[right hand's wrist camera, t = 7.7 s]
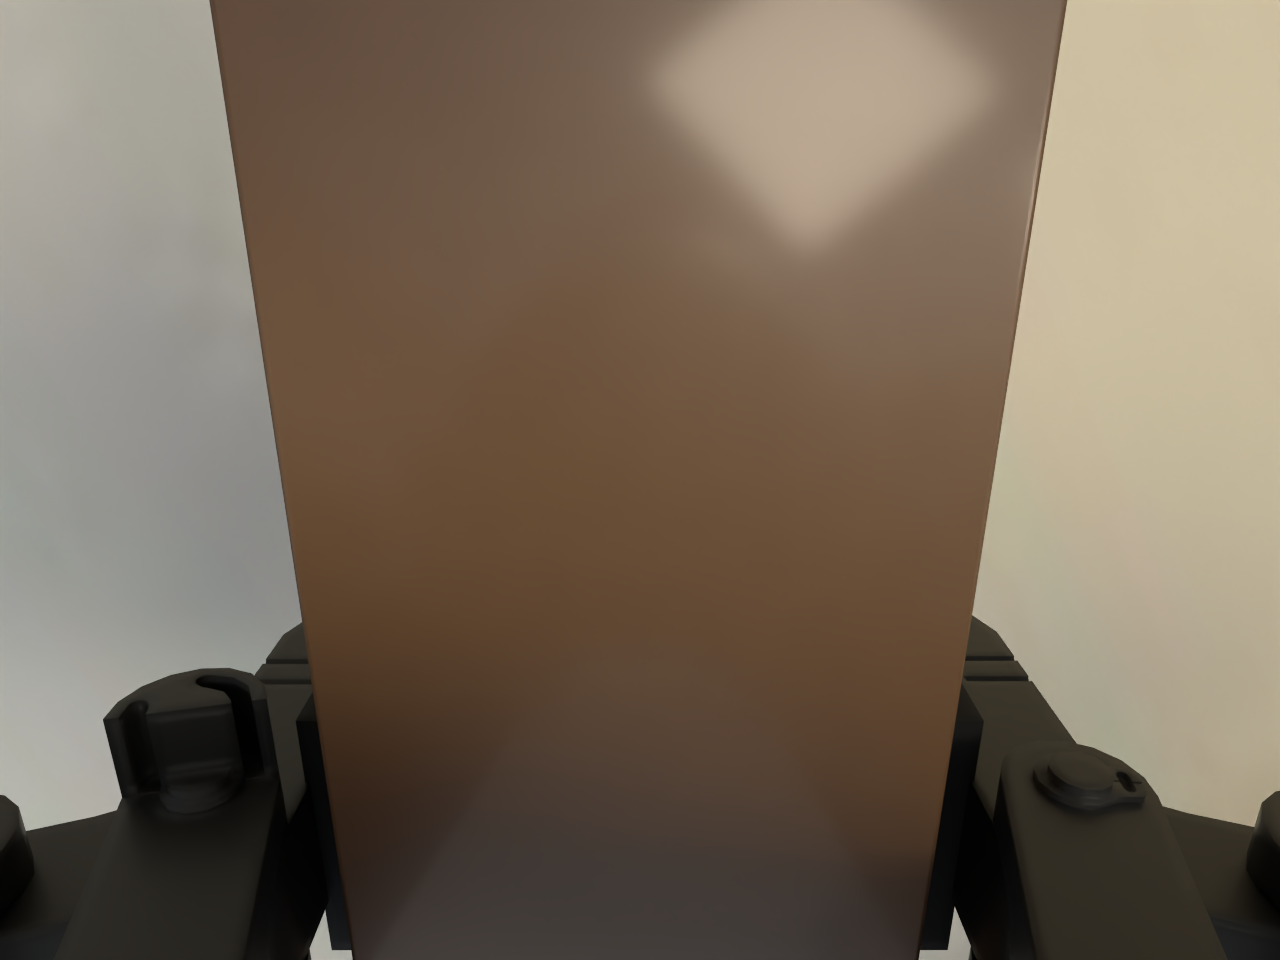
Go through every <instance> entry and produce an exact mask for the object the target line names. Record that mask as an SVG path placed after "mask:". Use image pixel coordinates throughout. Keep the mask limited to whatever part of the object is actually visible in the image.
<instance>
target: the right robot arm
mask: <svg viewBox="0 0 1280 960" xmlns="http://www.w3.org/2000/svg"><path fill="white" fill-rule="evenodd" d="M103 722H104V726H105V730H106V734H107V738H108V742H109V746H110V750H111V754H112V758H113V762H114V766H115V770H116V774H117V778H118V782H119V786H120V790H121V794H122V799H121V802H120V804H119V806H118V809H117V811H113V812H109V813H106V814H102V815H99V816H95V817H91V818H86V819H81V820H77V821H72V822H67V823H62V824H58V825H53V826H48V827H44V828H39V829H34V830H29V831H26V830H25V827H24V823H23V820H22V817H21V813H20V810H19V807H18V806H17V805H16V804H14V803H13V802H12V801H11V800H10V799H8V798H7V797H6V796H4V795H0V960H311V955H310V949H309V948H310V946H311V943H312V941H313V938H314V936H315V933H316V931H317V928H318V926H319V923H320V921H321V918H322V916H323V914H324V911H325V910H326V916H327V922H328V929H329V935H330V941H331V947H332V950H351V944H350V937H349V930H348V924H347V917H346V910H345V904H344V897H343V890H342V883H341V877H340V870H339V863H338V857H337V850H336V843H335V837H334V830H333V823H332V817H331V810H330V803H329V796H328V790H327V783H326V776H325V770H324V763H323V756H322V750H321V743H320V736H319V730H318V723H317V716H316V709H315V703H314V696H313V689H312V683H311V676H310V669H309V663H308V656H307V649H306V643H305V636H304V629H303V622H302V623H300V624H299V625H297V626H296V627H294V628H293V629H291V630H290V631H288V632H287V633H285V634H284V635H283V636H282V637H281V639H280V640H279V642H278V643H277V645H276V646H275V647H274V649H273V650H272V652H271V653H270V654H269V656H268V657H267V659H266V664H262V666H261V667H260V668H259V670H258V671H257V673H256V674H255V676H254V675H253V674H251V673H248V672H243V671H239V670H235V669H231V668H211V669H198V670H193V671H188V672H183V673H179V674H174V675H170V676H167V677H165V678H162V679H160V680H157V681H155V682H152V683H150V684H147V685H145V686H142V687H140V688H139V689H137V690H136V691H134V692H133V693H131V694H130V695H128V696H126V697H125V698H123V699H122V700H120V701H119V702H117V704H116V705H115V706H114V707H113V708H112V709H111V711H110V712H109V713H108V714H107V715H106V717H105V718H104V719H103ZM954 906H955V908H956V910H957V913H958V915H959V918H960V920H961V923H962V925H963V928H964V930H965V932H966V935H967V937H968V940H969V942H970V945H971V949H970V955H969V960H1280V791H1276V792H1274V793H1273V794H1272V795H1271V796H1270V797H1268V798H1267V799H1266V800H1265V801H1263V802H1262V804H1261V808H1260V811H1259V814H1258V818H1257V821H1256V824H1255V827H1250V826H1246V825H1241V824H1236V823H1231V822H1227V821H1222V820H1217V819H1212V818H1208V817H1203V816H1198V815H1193V814H1189V813H1185V812H1181V811H1177V810H1174V809H1170V808H1167V807H1163V806H1162V805H1161V803H1160V800H1159V798H1158V796H1157V795H1156V793H1155V792H1154V790H1153V789H1152V788H1151V786H1150V785H1149V783H1148V782H1147V781H1146V779H1145V778H1144V777H1143V776H1141V775H1140V774H1139V773H1137V772H1136V771H1135V770H1133V769H1132V768H1131V767H1129V766H1128V765H1127V764H1125V763H1124V762H1123V761H1121V760H1119V759H1117V758H1115V757H1112V756H1110V755H1108V754H1106V753H1104V752H1101V751H1099V750H1097V749H1095V748H1092V747H1088V746H1083V745H1079V744H1076V742H1075V741H1074V740H1073V738H1072V737H1071V735H1070V734H1069V732H1068V731H1067V730H1066V728H1065V727H1064V725H1063V724H1062V723H1061V721H1060V720H1059V718H1058V717H1057V716H1056V714H1055V713H1054V711H1053V710H1052V709H1051V707H1050V706H1049V704H1048V703H1047V702H1046V700H1045V699H1044V697H1043V696H1042V695H1041V693H1040V692H1039V690H1038V689H1037V688H1036V686H1035V685H1034V683H1033V682H1032V681H1029V680H1028V675H1027V674H1026V672H1025V671H1024V669H1023V668H1022V667H1021V665H1020V664H1019V662H1018V661H1014V655H1013V654H1012V653H1011V651H1010V650H1009V648H1008V647H1007V646H1006V644H1005V643H1004V641H1003V640H1002V639H1001V637H1000V636H999V634H998V633H997V632H996V631H995V630H993V629H992V628H990V627H989V626H987V625H986V624H984V623H983V622H981V621H980V620H978V619H977V618H975V617H974V616H972V617H971V624H970V630H969V637H968V643H967V650H966V656H965V663H964V669H963V675H962V682H961V688H960V695H959V701H958V708H957V714H956V721H955V727H954V734H953V740H952V746H951V753H950V759H949V766H948V772H947V779H946V785H945V792H944V798H943V805H942V811H941V817H940V824H939V830H938V837H937V843H936V850H935V856H934V863H933V869H932V876H931V882H930V888H929V895H928V901H927V908H926V914H925V921H924V927H923V934H922V940H921V946H920V950H948V944H949V938H950V931H951V925H952V919H953V912H954Z"/></svg>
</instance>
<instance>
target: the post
mask: <svg viewBox="0 0 1280 960" xmlns="http://www.w3.org/2000/svg"><path fill="white" fill-rule="evenodd" d="M1066 4H1067V0H210V7H211V14H212V20H213V27H214V34H215V40H216V47H217V54H218V60H219V67H220V74H221V80H222V87H223V94H224V101H225V107H226V114H227V121H228V127H229V134H230V141H231V147H232V154H233V161H234V167H235V174H236V181H237V188H238V194H239V201H240V208H241V214H242V221H243V228H244V234H245V241H246V248H247V254H248V261H249V268H250V275H251V281H252V288H253V295H254V301H255V308H256V315H257V321H258V328H259V335H260V341H261V348H262V355H263V362H264V368H265V375H266V382H267V388H268V395H269V402H270V408H271V415H272V422H273V428H274V435H275V442H276V449H277V455H278V462H279V469H280V475H281V482H282V489H283V495H284V502H285V509H286V515H287V522H288V529H289V536H290V542H291V549H292V556H293V562H294V569H295V576H296V582H297V589H298V596H299V602H300V609H301V616H302V622H303V629H304V636H305V643H306V649H307V656H308V663H309V669H310V676H311V683H312V689H313V696H314V703H315V709H316V716H317V723H318V730H319V736H320V743H321V750H322V756H323V763H324V770H325V776H326V783H327V790H328V796H329V803H330V810H331V817H332V823H333V830H334V837H335V843H336V850H337V857H338V863H339V870H340V877H341V883H342V890H343V897H344V904H345V910H346V917H347V924H348V930H349V937H350V944H351V950H352V957H353V960H918V959H919V953H920V946H921V940H922V934H923V927H924V921H925V914H926V908H927V901H928V895H929V888H930V882H931V876H932V869H933V863H934V856H935V850H936V843H937V837H938V830H939V824H940V817H941V811H942V805H943V798H944V792H945V785H946V779H947V772H948V766H949V759H950V753H951V746H952V740H953V734H954V727H955V721H956V714H957V708H958V701H959V695H960V688H961V682H962V675H963V669H964V663H965V656H966V650H967V643H968V637H969V630H970V624H971V617H972V611H973V605H974V598H975V592H976V585H977V579H978V572H979V566H980V559H981V553H982V546H983V540H984V534H985V527H986V521H987V514H988V508H989V501H990V495H991V488H992V482H993V475H994V469H995V463H996V456H997V450H998V443H999V437H1000V430H1001V424H1002V417H1003V411H1004V404H1005V398H1006V392H1007V385H1008V379H1009V372H1010V366H1011V359H1012V353H1013V346H1014V340H1015V333H1016V327H1017V321H1018V314H1019V308H1020V301H1021V295H1022V288H1023V282H1024V275H1025V269H1026V263H1027V256H1028V250H1029V243H1030V237H1031V230H1032V224H1033V217H1034V211H1035V204H1036V198H1037V192H1038V185H1039V179H1040V172H1041V166H1042V159H1043V153H1044V146H1045V140H1046V133H1047V127H1048V121H1049V114H1050V108H1051V101H1052V95H1053V88H1054V82H1055V75H1056V69H1057V62H1058V56H1059V50H1060V43H1061V37H1062V30H1063V24H1064V17H1065V11H1066Z"/></svg>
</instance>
